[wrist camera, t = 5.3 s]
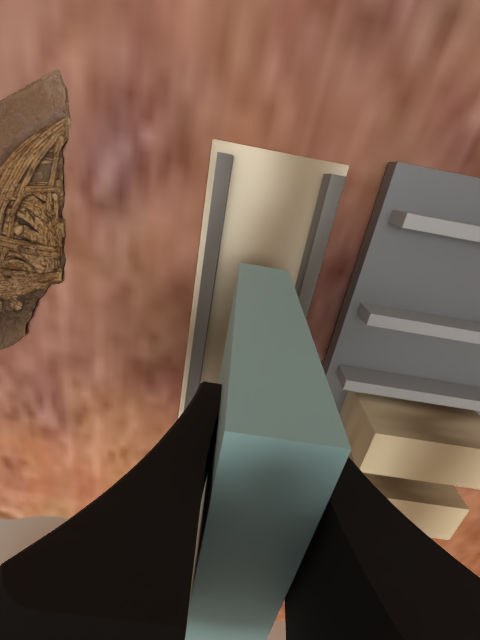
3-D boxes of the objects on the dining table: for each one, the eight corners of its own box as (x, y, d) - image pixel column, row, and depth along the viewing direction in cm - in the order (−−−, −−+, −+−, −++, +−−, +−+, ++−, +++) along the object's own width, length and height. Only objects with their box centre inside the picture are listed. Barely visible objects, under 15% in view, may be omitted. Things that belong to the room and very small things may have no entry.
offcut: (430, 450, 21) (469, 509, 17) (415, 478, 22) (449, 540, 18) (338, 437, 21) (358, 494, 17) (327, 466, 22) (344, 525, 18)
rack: (590, 202, 16) (649, 207, 13) (429, 482, 23) (449, 515, 21) (388, 162, 15) (413, 160, 13) (291, 462, 23) (296, 494, 21)
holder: (343, 166, 15) (359, 164, 13) (270, 430, 22) (273, 460, 19) (214, 141, 15) (208, 135, 13) (180, 416, 21) (172, 445, 19)
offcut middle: (466, 401, 19) (517, 454, 16) (448, 433, 20) (492, 491, 17) (350, 383, 19) (375, 433, 15) (337, 417, 20) (358, 471, 16)
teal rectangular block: (251, 420, 17) (254, 665, 9) (212, 414, 17) (178, 657, 9) (288, 270, 13) (351, 448, 5) (239, 262, 13) (224, 431, 5)
